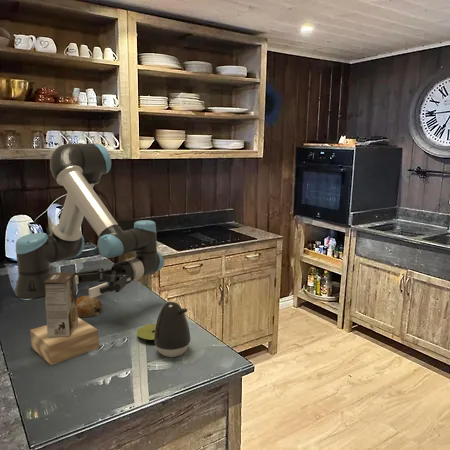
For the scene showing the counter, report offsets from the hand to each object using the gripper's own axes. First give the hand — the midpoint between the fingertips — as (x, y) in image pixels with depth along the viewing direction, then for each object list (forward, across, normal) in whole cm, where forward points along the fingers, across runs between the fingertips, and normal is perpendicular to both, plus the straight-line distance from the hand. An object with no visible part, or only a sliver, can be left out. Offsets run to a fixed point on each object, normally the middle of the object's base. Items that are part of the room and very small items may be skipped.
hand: (74, 289), depth 121 cm
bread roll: (-16, +16, -17) cm, 29 cm away
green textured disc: (-15, -18, -17) cm, 29 cm away
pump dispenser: (-10, -29, -17) cm, 35 cm away
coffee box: (+5, 0, -11) cm, 12 cm away
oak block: (+4, 0, -17) cm, 18 cm away
